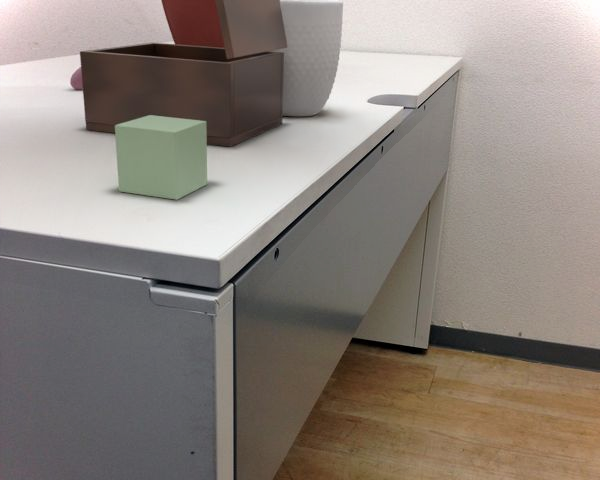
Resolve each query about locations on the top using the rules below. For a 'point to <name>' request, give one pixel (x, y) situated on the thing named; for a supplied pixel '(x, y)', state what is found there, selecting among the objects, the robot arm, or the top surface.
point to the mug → (310, 53)
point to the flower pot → (194, 22)
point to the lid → (251, 26)
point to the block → (161, 156)
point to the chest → (184, 88)
